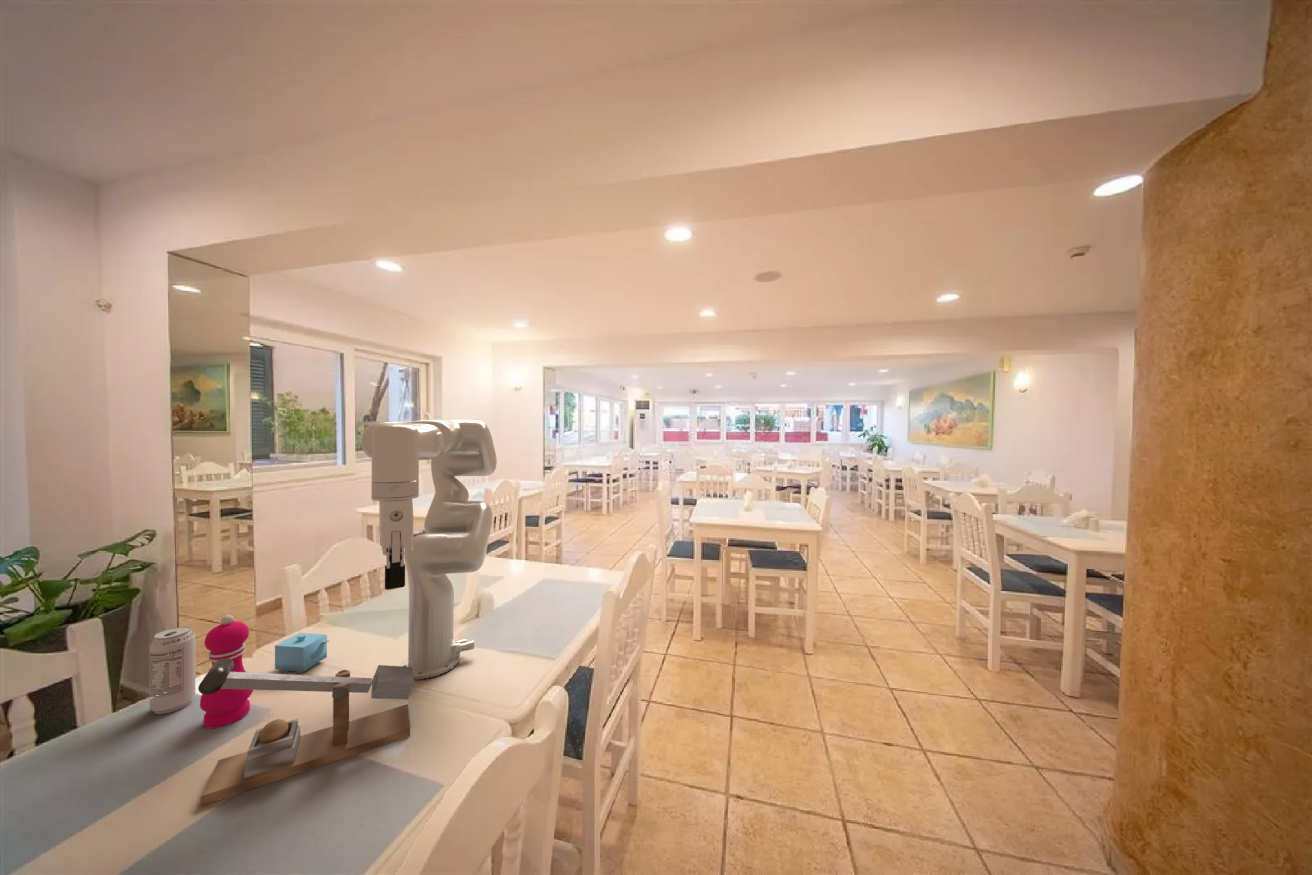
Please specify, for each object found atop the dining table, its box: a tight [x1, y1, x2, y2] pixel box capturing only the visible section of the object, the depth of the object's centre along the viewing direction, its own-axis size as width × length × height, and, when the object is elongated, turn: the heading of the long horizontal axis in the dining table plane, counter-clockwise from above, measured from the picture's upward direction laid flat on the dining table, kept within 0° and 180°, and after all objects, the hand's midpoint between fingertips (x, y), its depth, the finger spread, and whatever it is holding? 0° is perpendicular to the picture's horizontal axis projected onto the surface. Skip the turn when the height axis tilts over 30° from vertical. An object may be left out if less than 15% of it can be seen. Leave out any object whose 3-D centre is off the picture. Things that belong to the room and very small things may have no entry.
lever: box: [198, 658, 415, 700], centre depth 73 cm, size 29×6×3 cm, turn 123°
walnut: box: [259, 718, 288, 744], centre depth 70 cm, size 4×4×4 cm
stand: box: [200, 669, 411, 807], centre depth 73 cm, size 27×8×12 cm, turn 123°
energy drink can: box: [148, 626, 196, 715], centre depth 84 cm, size 6×6×15 cm
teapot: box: [274, 632, 330, 675], centre depth 98 cm, size 12×6×8 cm, turn 85°
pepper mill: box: [199, 614, 254, 729], centre depth 81 cm, size 7×7×20 cm
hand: (394, 586), depth 79 cm, fingers closed
